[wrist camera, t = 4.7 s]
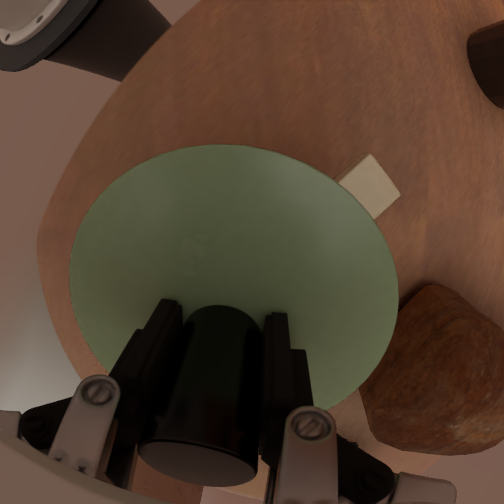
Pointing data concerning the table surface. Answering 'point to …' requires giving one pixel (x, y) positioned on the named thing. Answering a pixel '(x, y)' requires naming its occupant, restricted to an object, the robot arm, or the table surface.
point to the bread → (439, 378)
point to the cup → (488, 60)
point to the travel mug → (164, 486)
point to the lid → (231, 292)
